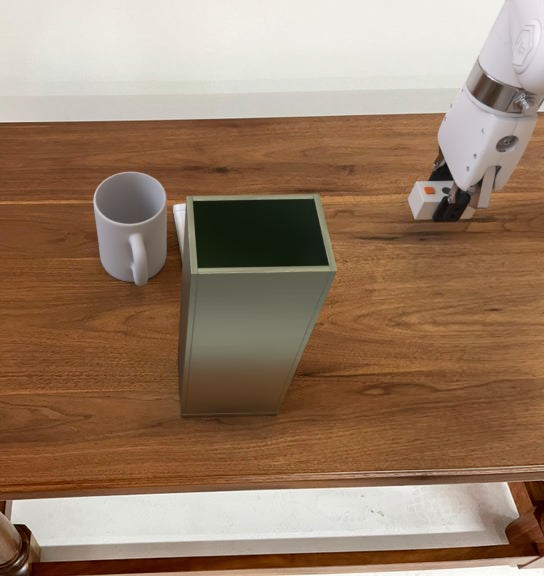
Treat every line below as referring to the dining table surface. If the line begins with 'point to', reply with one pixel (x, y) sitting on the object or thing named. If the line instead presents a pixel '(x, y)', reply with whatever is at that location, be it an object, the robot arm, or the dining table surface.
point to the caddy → (248, 299)
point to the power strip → (432, 198)
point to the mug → (131, 226)
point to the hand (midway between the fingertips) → (439, 206)
